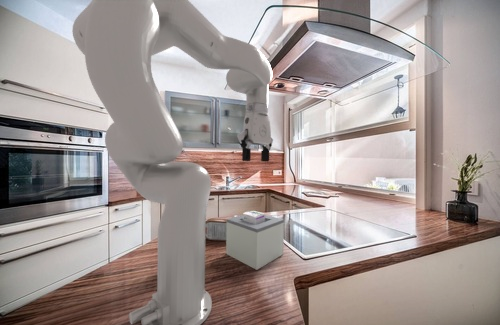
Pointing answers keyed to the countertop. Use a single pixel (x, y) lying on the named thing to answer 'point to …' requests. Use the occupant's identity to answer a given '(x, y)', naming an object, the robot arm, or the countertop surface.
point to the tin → (216, 229)
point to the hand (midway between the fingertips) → (256, 161)
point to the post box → (255, 240)
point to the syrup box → (254, 217)
